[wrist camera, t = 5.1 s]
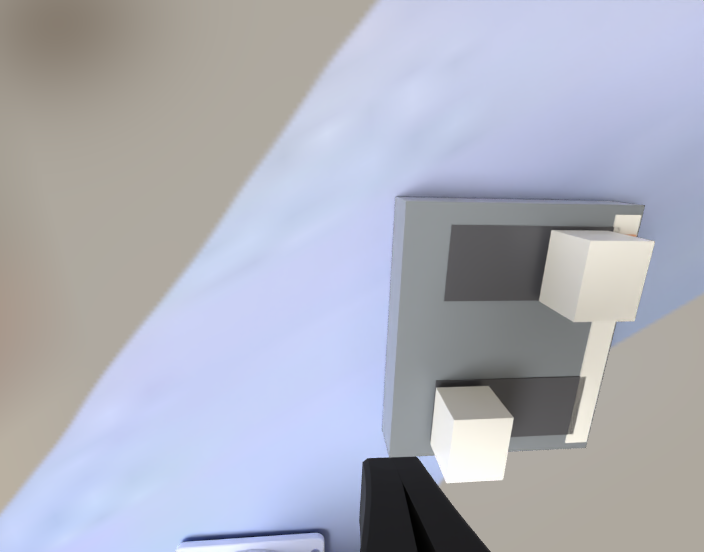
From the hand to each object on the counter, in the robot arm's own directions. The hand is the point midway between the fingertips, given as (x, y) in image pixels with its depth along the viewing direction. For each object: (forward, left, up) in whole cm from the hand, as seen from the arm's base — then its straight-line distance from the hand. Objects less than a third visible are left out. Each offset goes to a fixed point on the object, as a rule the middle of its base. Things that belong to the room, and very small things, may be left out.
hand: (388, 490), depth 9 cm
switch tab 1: (-3, -5, -7) cm, 9 cm away
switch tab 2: (+4, -9, -7) cm, 12 cm away
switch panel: (+1, -7, -9) cm, 11 cm away
